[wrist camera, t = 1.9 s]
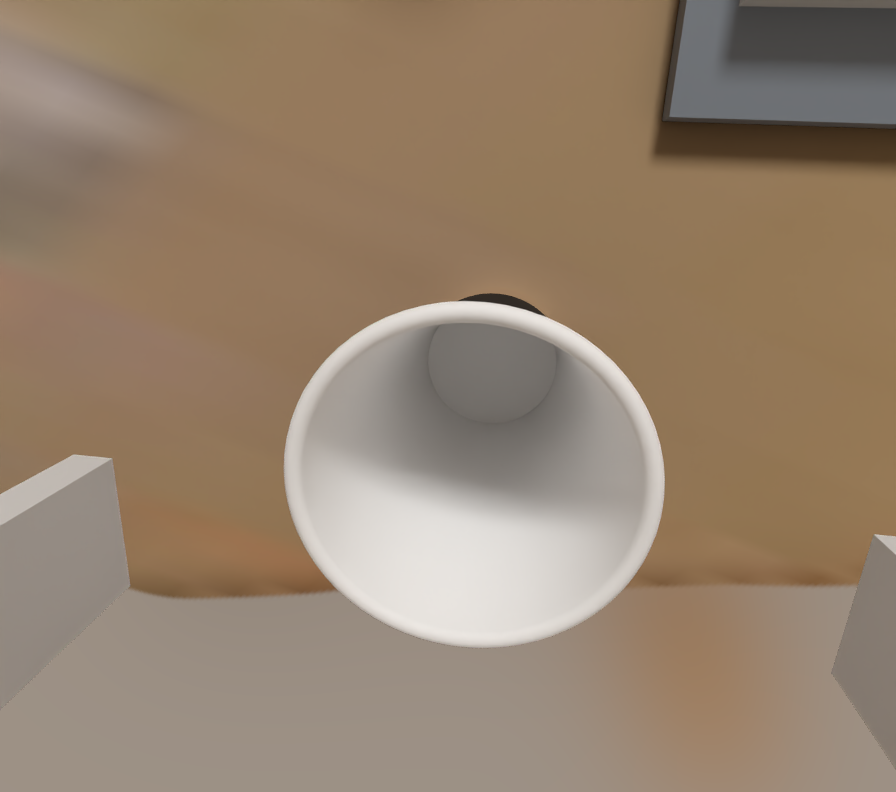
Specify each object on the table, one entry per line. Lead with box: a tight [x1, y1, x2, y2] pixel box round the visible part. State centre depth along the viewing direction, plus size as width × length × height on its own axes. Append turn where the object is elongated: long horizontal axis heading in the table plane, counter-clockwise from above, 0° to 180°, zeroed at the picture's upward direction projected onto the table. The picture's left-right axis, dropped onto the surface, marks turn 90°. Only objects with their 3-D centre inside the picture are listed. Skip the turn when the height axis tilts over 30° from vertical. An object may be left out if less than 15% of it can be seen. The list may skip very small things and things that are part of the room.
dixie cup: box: [284, 293, 665, 648], centre depth 17 cm, size 8×8×11 cm
